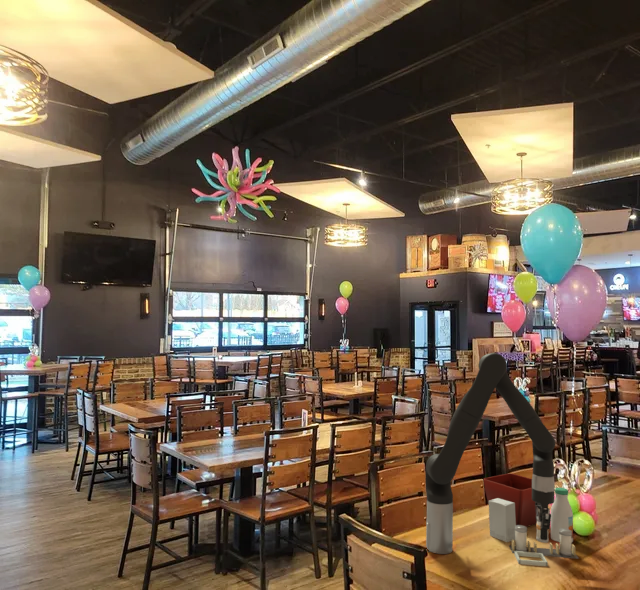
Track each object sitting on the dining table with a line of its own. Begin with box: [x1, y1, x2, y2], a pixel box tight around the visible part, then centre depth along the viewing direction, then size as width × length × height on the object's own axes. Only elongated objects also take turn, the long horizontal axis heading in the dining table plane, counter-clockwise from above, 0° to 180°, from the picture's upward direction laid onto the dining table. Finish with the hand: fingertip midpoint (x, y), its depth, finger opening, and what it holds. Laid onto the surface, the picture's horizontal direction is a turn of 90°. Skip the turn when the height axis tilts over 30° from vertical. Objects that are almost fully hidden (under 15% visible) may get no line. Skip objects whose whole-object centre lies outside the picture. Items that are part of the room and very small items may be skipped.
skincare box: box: [488, 498, 516, 543], centre depth 210 cm, size 8×6×15 cm
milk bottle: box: [550, 487, 574, 543], centre depth 209 cm, size 8×8×20 cm
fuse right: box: [559, 528, 572, 556], centre depth 195 cm, size 4×4×8 cm
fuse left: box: [514, 525, 528, 552], centre depth 198 cm, size 4×4×8 cm
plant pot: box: [483, 472, 537, 528], centre depth 231 cm, size 19×19×17 cm
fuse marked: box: [535, 516, 550, 544], centre depth 196 cm, size 4×4×8 cm
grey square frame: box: [513, 551, 549, 567], centre depth 189 cm, size 9×8×3 cm
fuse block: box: [508, 540, 580, 560], centre depth 196 cm, size 22×7×4 cm, turn 81°
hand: (542, 536), depth 196 cm, fingers closed on fuse marked, 4 cm apart
